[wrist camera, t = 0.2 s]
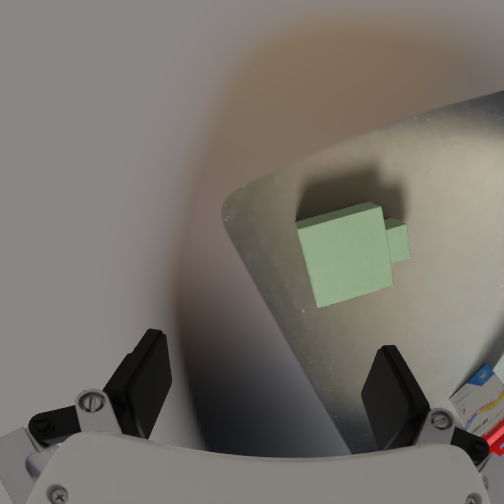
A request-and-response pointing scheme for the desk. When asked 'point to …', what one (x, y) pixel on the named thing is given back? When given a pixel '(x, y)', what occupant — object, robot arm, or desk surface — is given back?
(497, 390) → the ink box
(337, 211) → the sage pad
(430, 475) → the robot arm
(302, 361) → the desk surface
